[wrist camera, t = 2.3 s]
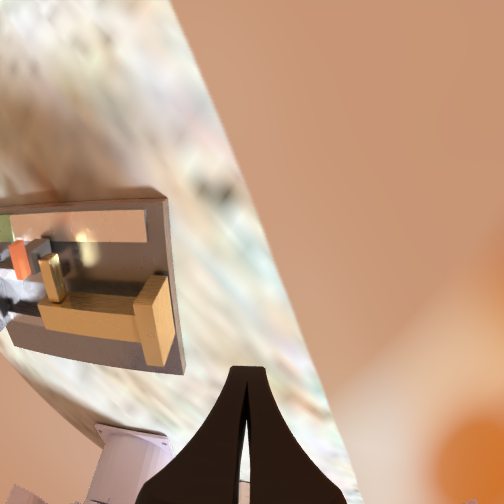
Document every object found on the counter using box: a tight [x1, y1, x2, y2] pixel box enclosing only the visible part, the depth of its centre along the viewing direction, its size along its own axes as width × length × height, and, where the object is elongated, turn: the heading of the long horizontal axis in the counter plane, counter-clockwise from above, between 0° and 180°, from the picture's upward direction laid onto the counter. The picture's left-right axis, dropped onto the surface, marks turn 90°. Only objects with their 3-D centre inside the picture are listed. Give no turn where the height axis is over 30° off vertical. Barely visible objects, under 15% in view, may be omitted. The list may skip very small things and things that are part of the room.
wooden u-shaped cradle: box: [37, 253, 175, 367], centre depth 16 cm, size 6×8×3 cm
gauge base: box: [0, 198, 186, 375], centre depth 16 cm, size 12×16×5 cm
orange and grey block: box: [8, 239, 52, 280], centre depth 15 cm, size 2×1×3 cm, turn 179°
